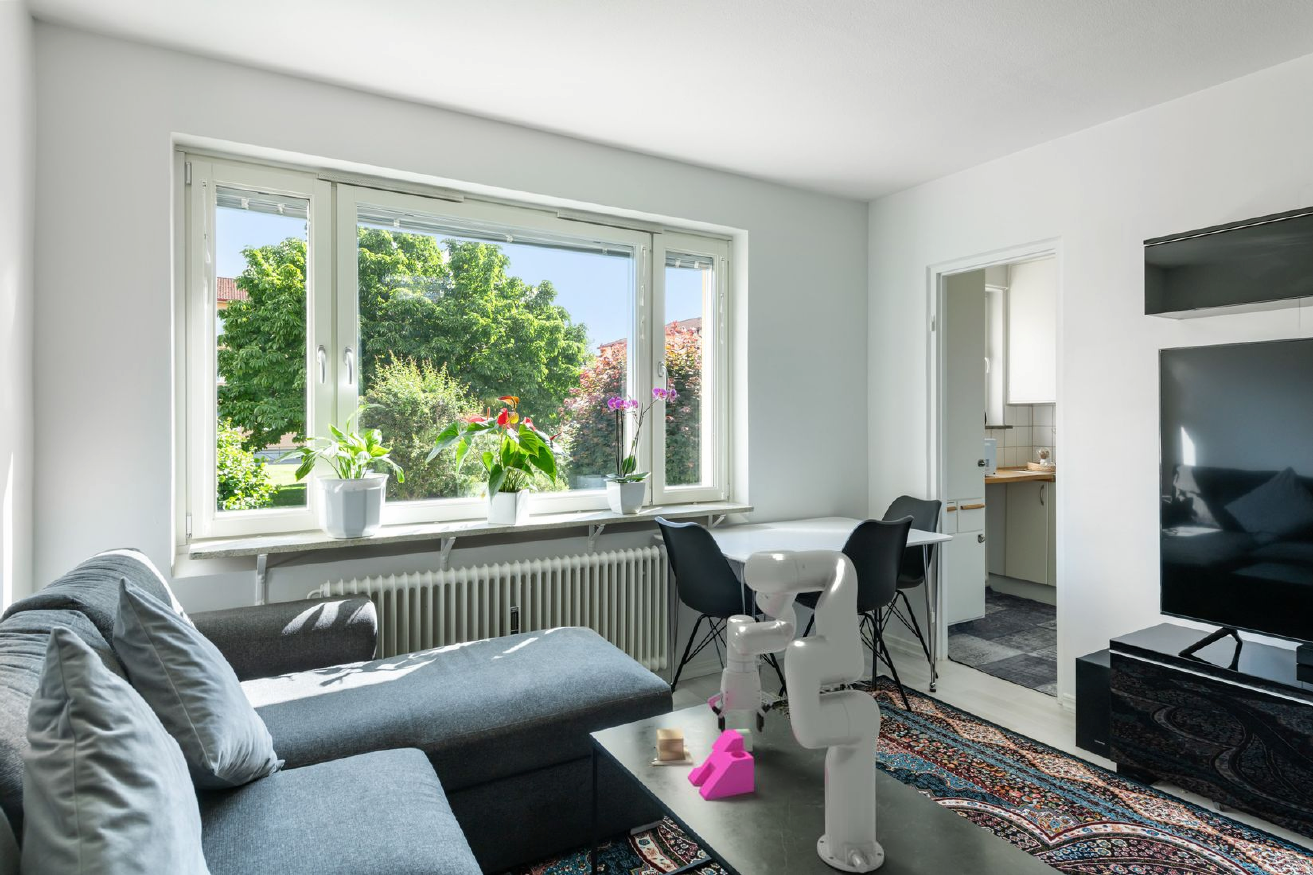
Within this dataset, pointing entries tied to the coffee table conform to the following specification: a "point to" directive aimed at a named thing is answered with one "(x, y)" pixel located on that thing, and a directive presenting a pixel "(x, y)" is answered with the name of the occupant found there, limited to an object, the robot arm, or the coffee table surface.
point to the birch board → (685, 761)
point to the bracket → (725, 768)
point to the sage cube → (746, 738)
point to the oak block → (670, 744)
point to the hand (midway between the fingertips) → (740, 730)
